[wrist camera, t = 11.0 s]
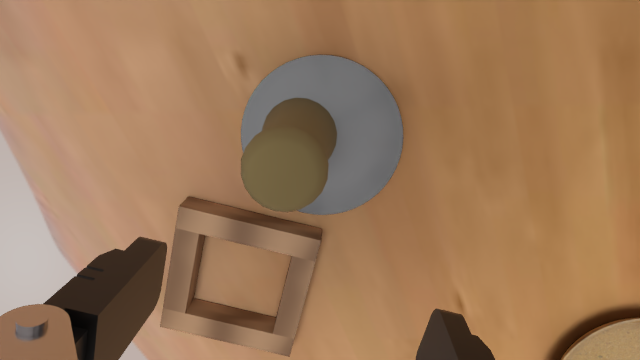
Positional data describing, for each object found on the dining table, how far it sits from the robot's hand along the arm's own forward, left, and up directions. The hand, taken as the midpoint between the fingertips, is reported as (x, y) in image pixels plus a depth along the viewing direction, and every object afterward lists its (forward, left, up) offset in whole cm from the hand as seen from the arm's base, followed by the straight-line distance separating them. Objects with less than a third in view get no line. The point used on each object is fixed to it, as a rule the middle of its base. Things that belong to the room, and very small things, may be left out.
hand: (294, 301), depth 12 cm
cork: (+2, 0, -23) cm, 23 cm away
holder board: (+4, +14, -24) cm, 28 cm away
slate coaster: (0, 0, -24) cm, 24 cm away
